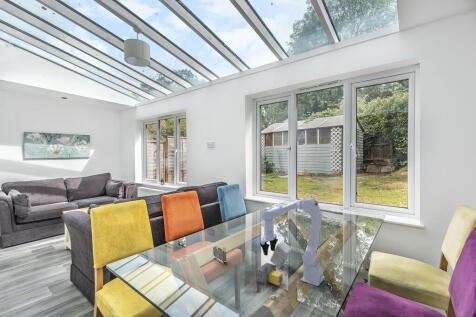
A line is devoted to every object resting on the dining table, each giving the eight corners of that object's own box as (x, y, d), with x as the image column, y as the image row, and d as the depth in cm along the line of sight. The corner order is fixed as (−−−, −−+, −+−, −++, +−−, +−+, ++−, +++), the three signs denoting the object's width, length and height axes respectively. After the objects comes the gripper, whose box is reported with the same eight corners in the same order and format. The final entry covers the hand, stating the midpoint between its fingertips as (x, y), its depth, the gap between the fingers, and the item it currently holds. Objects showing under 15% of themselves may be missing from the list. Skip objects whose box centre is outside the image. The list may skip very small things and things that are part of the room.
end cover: (283, 282, 118) (283, 273, 118) (278, 285, 115) (278, 277, 115) (266, 275, 125) (266, 267, 125) (262, 279, 121) (261, 270, 121)
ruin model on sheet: (226, 263, 143) (226, 247, 143) (223, 264, 141) (222, 249, 141) (217, 257, 152) (216, 243, 152) (213, 258, 150) (213, 244, 150)
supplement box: (275, 255, 143) (282, 240, 138) (285, 263, 139) (292, 248, 134) (269, 260, 137) (276, 245, 133) (279, 269, 133) (286, 253, 129)
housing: (276, 277, 124) (275, 265, 124) (266, 285, 116) (266, 272, 116) (266, 273, 128) (266, 262, 128) (256, 281, 120) (256, 269, 120)
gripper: (269, 225, 141) (270, 247, 141) (256, 231, 130) (256, 255, 130) (279, 228, 136) (280, 250, 136) (266, 234, 125) (266, 258, 125)
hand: (269, 252), depth 133 cm, fingers open, 7 cm apart
